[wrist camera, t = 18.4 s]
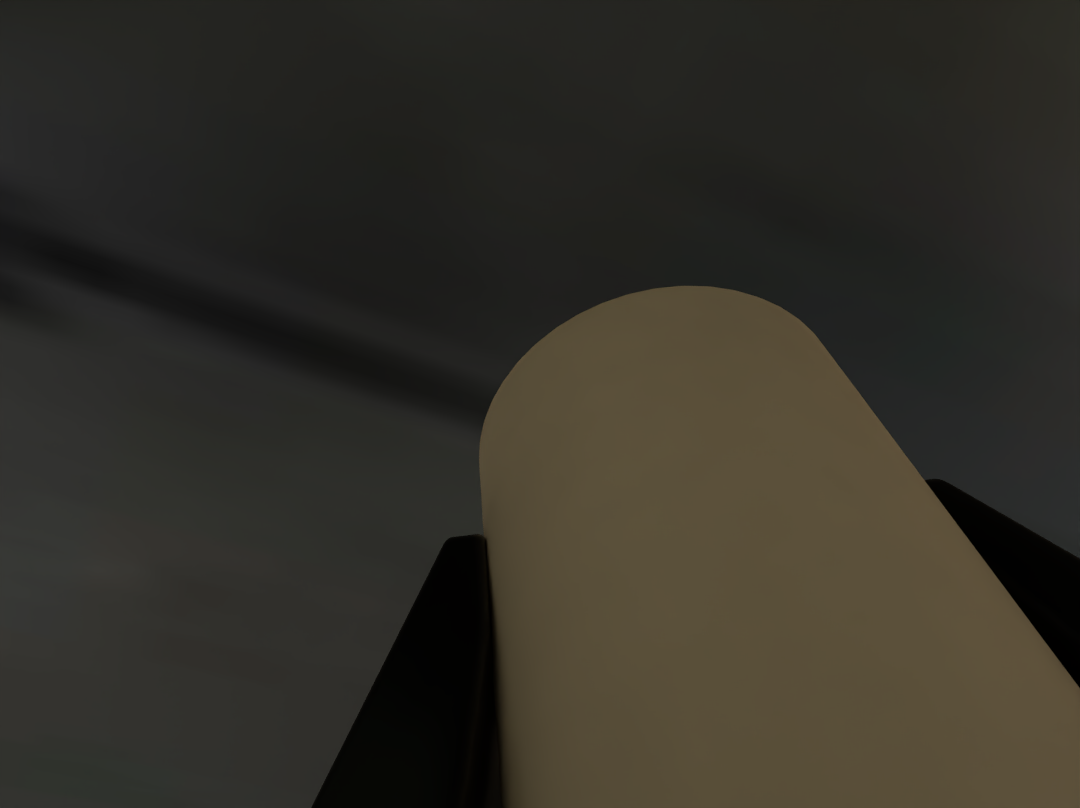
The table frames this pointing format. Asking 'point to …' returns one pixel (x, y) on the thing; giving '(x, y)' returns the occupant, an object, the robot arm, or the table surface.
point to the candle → (742, 585)
